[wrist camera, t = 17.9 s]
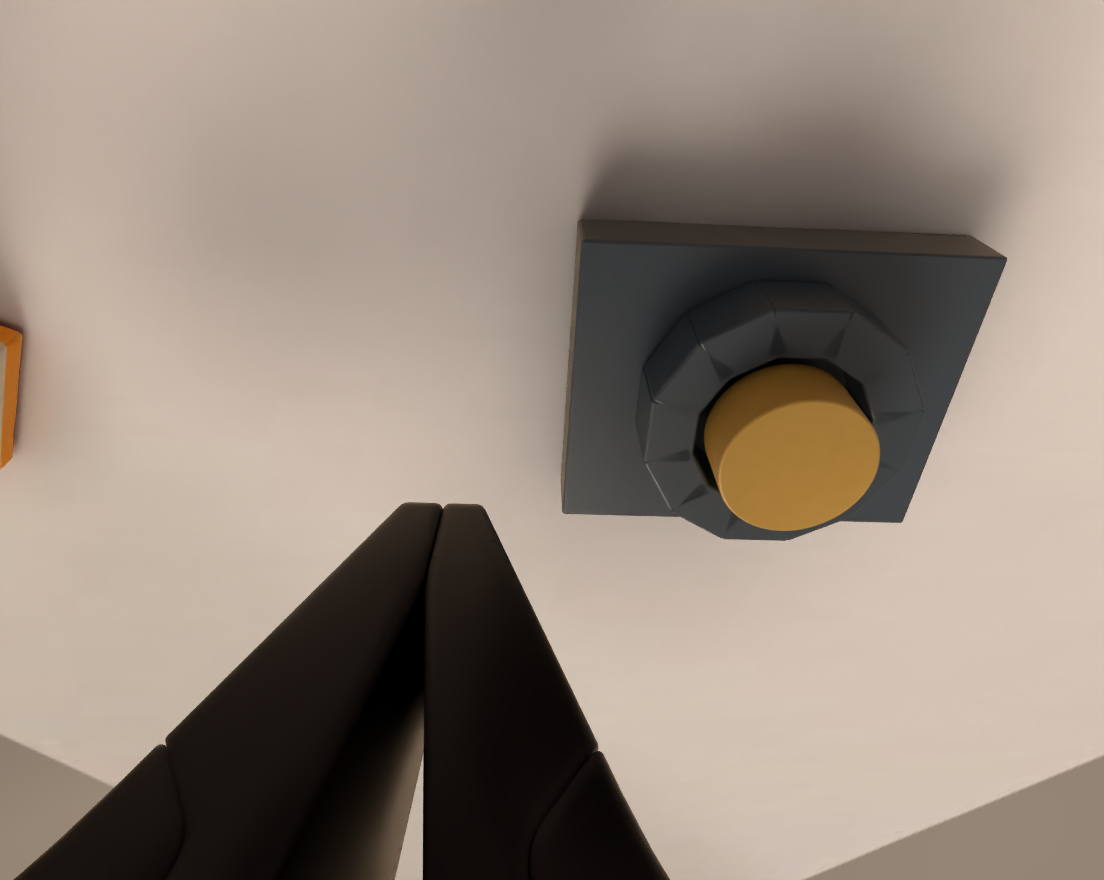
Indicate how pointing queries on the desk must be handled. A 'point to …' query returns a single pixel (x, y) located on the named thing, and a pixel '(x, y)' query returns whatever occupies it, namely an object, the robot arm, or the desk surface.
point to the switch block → (756, 352)
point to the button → (790, 447)
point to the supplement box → (8, 389)
